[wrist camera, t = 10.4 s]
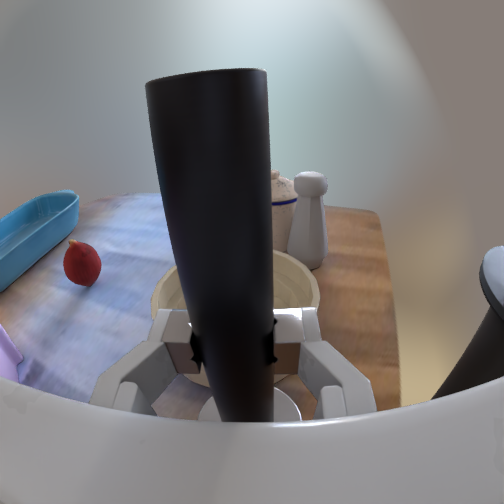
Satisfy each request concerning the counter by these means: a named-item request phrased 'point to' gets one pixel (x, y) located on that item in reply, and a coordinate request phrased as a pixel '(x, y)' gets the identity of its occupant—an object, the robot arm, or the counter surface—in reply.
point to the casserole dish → (34, 232)
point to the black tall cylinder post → (222, 231)
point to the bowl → (285, 294)
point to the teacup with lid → (282, 209)
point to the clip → (8, 357)
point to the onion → (81, 263)
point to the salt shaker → (309, 220)
